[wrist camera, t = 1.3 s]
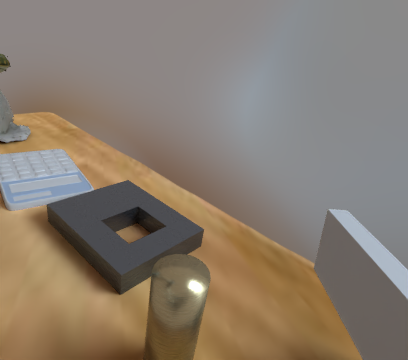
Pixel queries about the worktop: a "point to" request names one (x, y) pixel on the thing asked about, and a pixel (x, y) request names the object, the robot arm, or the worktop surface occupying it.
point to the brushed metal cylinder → (175, 307)
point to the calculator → (39, 178)
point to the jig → (118, 219)
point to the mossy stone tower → (9, 115)
